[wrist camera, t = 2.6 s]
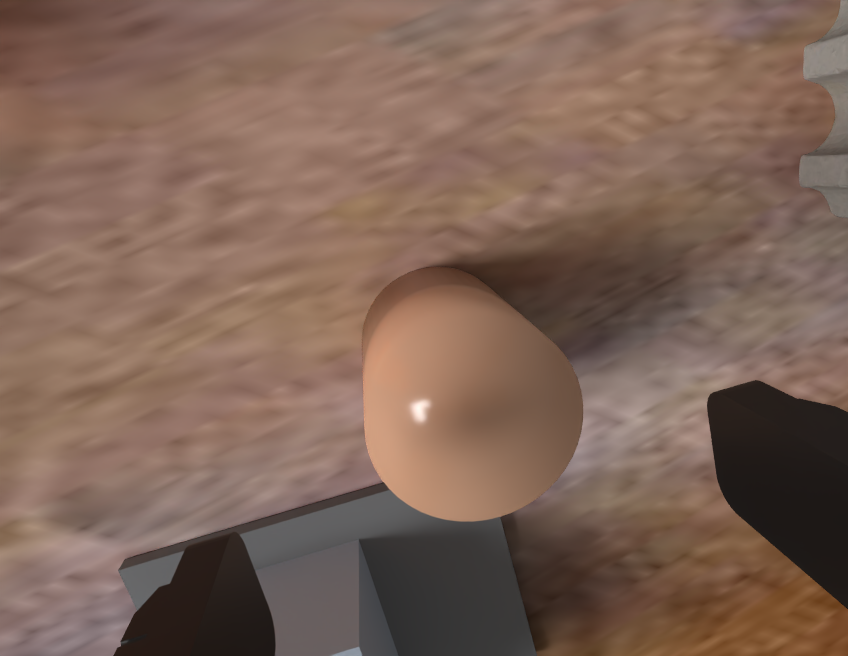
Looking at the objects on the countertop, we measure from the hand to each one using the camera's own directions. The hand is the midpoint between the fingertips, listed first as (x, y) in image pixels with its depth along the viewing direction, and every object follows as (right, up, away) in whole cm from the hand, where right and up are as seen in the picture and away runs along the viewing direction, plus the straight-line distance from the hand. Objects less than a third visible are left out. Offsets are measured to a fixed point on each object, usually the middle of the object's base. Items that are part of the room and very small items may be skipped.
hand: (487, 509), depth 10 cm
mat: (-4, -7, +12) cm, 15 cm away
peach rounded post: (-1, +3, +10) cm, 11 cm away
